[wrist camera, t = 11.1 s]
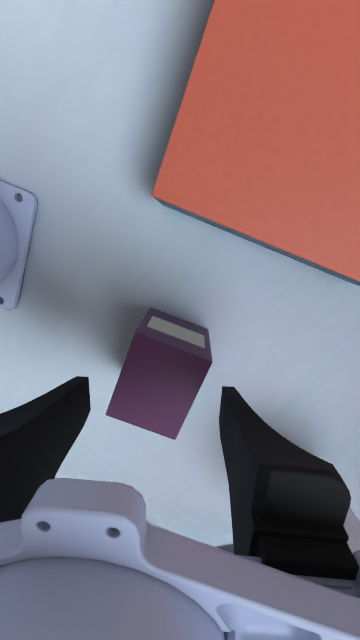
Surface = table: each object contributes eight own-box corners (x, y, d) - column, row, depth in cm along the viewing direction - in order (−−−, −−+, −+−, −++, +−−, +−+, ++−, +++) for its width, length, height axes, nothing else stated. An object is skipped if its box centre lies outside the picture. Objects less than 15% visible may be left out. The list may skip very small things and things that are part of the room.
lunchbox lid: (601, 34, 10) (624, 23, 10) (414, 304, 14) (423, 307, 13) (257, -125, 10) (260, -147, 9) (152, 197, 13) (150, 195, 13)
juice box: (125, 373, 21) (104, 415, 16) (150, 306, 19) (135, 331, 14) (179, 393, 21) (174, 441, 16) (209, 329, 19) (213, 361, 14)
